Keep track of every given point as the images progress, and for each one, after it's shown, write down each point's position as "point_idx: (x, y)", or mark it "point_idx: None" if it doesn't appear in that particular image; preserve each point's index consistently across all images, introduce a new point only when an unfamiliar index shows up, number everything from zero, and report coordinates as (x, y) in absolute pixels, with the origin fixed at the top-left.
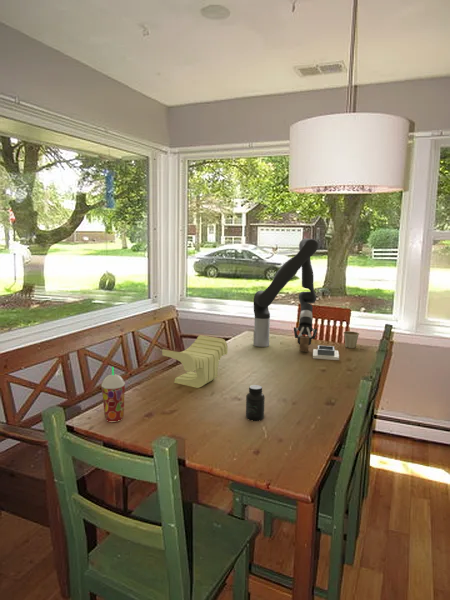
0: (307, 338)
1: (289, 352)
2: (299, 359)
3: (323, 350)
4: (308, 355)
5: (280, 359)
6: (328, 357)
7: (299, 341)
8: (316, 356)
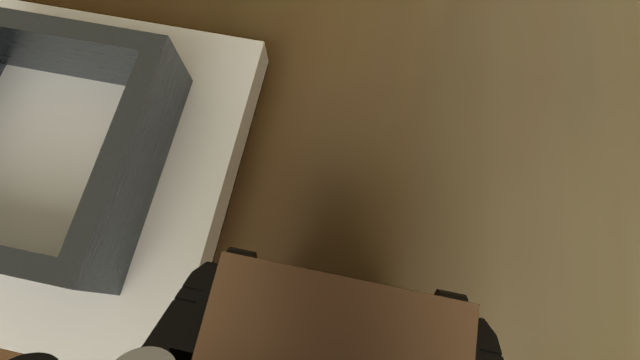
0: (265, 264)
1: (548, 300)
2: (426, 17)
3: (92, 27)
4: (295, 169)
5: (637, 7)
6: (90, 17)
7: None
8: (222, 40)
